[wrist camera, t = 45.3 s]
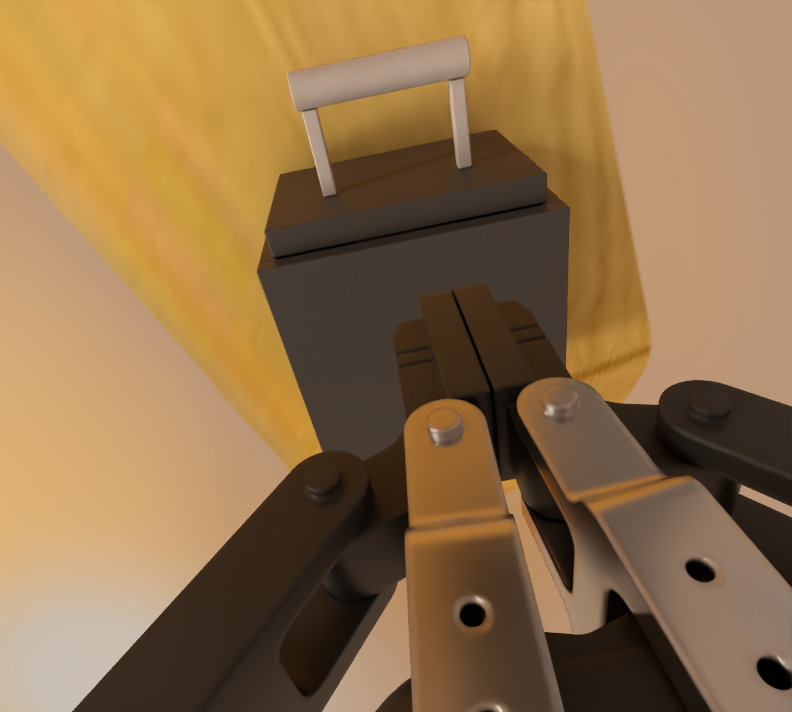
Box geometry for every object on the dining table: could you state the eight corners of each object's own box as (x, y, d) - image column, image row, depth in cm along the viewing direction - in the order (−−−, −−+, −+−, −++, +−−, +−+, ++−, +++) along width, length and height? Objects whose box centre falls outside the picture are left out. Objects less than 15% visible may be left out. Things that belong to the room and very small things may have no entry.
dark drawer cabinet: (276, 193, 28) (256, 271, 21) (503, 146, 28) (570, 207, 20) (338, 394, 37) (341, 504, 29) (514, 359, 37) (563, 459, 29)
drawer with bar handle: (247, 68, 24) (218, 97, 18) (489, 17, 24) (547, 28, 18) (340, 375, 35) (342, 462, 29) (507, 342, 35) (547, 421, 28)
